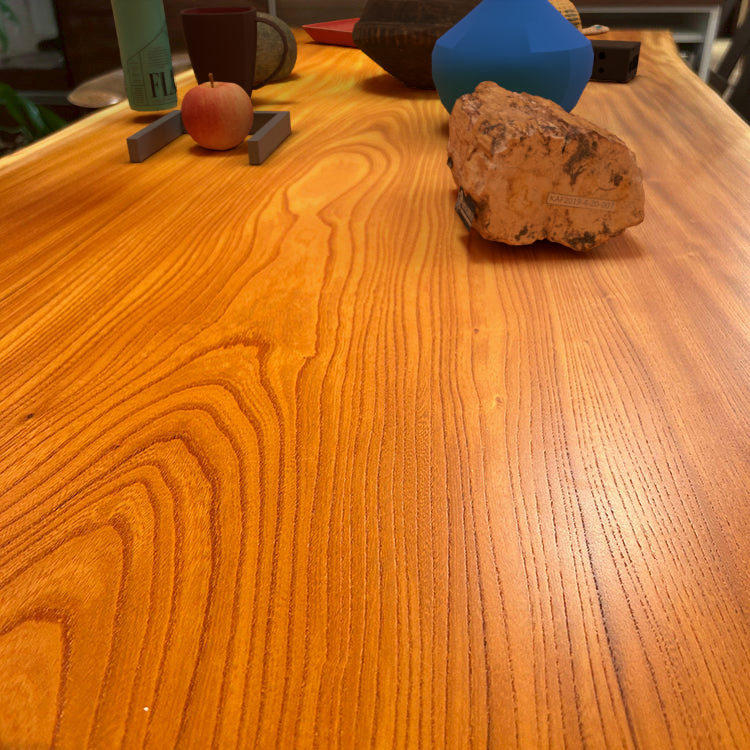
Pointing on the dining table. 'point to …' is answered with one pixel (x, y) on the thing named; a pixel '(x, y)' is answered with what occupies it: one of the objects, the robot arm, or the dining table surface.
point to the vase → (513, 53)
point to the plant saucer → (332, 32)
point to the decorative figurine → (576, 18)
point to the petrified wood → (539, 172)
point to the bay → (150, 139)
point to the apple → (217, 114)
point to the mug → (226, 44)
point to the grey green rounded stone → (273, 49)
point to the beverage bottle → (145, 54)
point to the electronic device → (615, 60)
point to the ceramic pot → (407, 35)
